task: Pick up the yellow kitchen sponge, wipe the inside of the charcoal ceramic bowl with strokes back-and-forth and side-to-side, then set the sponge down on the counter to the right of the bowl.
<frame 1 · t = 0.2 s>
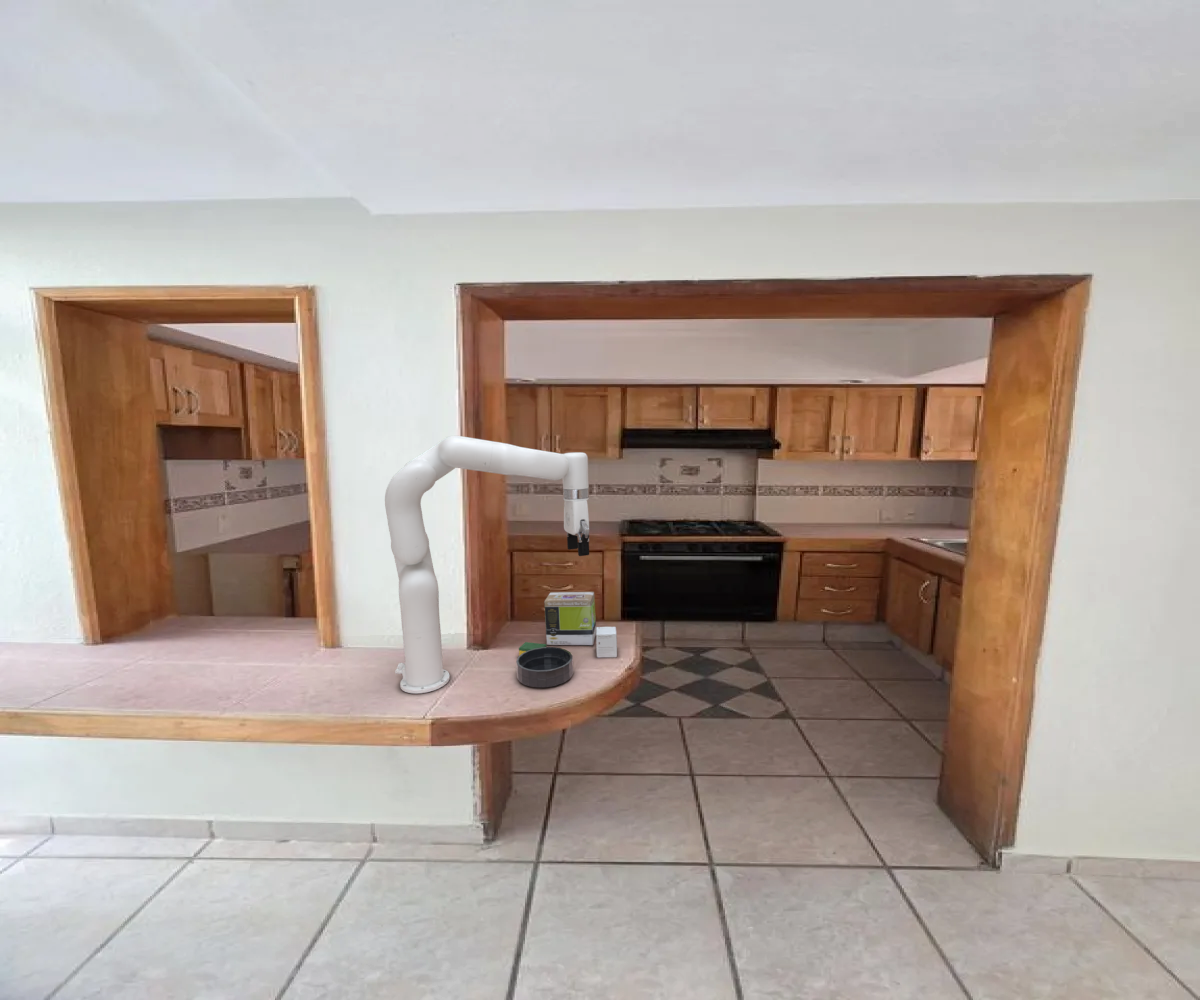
hand: (578, 552, 147), 31 cm above the counter, tool pointing down, fingers open, 9 cm apart
product box: (606, 654, 149), on the counter
bowl: (545, 675, 136), on the counter
tea box: (571, 640, 160), on the counter
sponge: (533, 655, 149), on the counter
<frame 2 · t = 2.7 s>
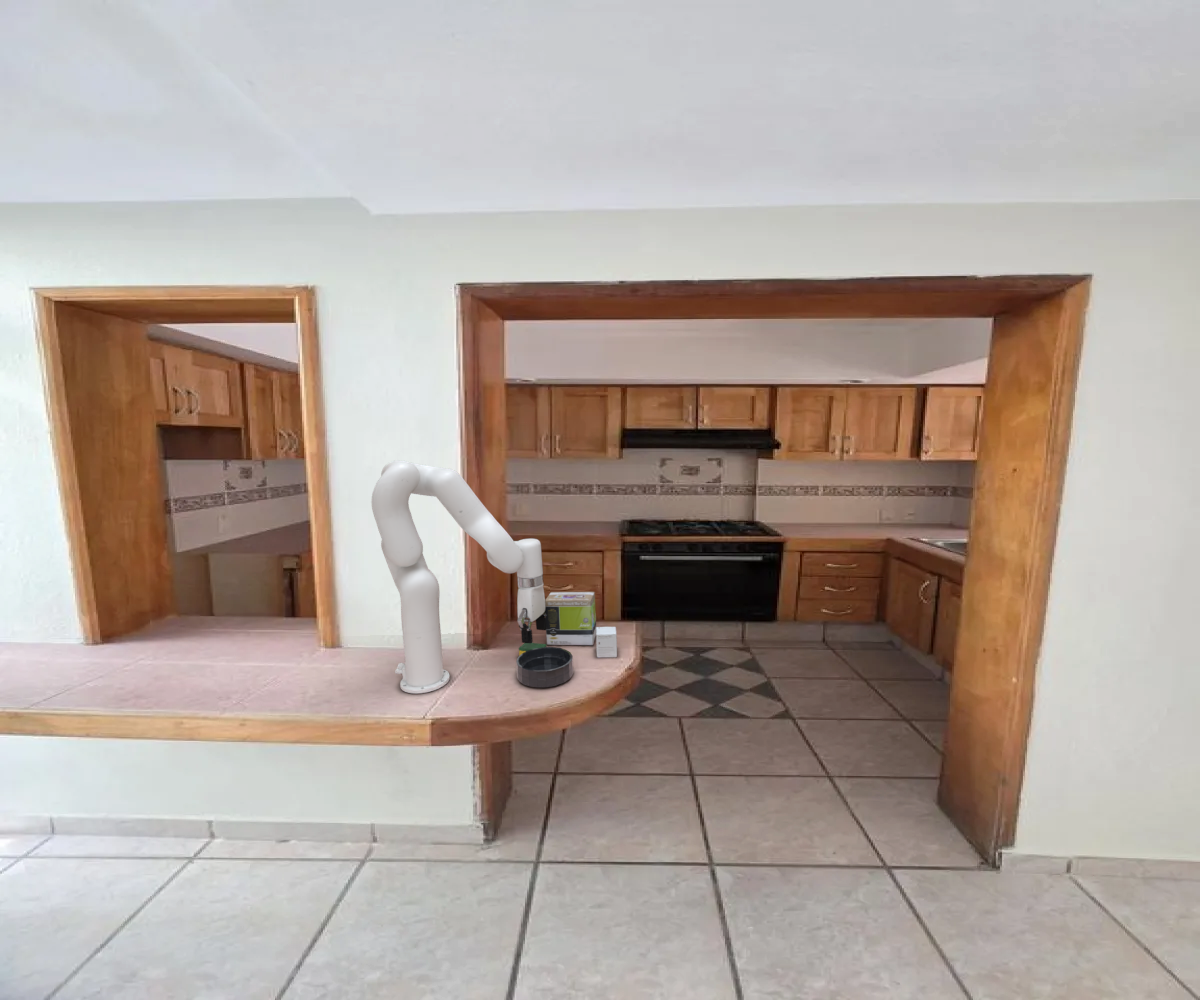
hand: (534, 636, 149), 6 cm above the counter, tool pointing down, fingers open, 9 cm apart
nothing on the counter moved.
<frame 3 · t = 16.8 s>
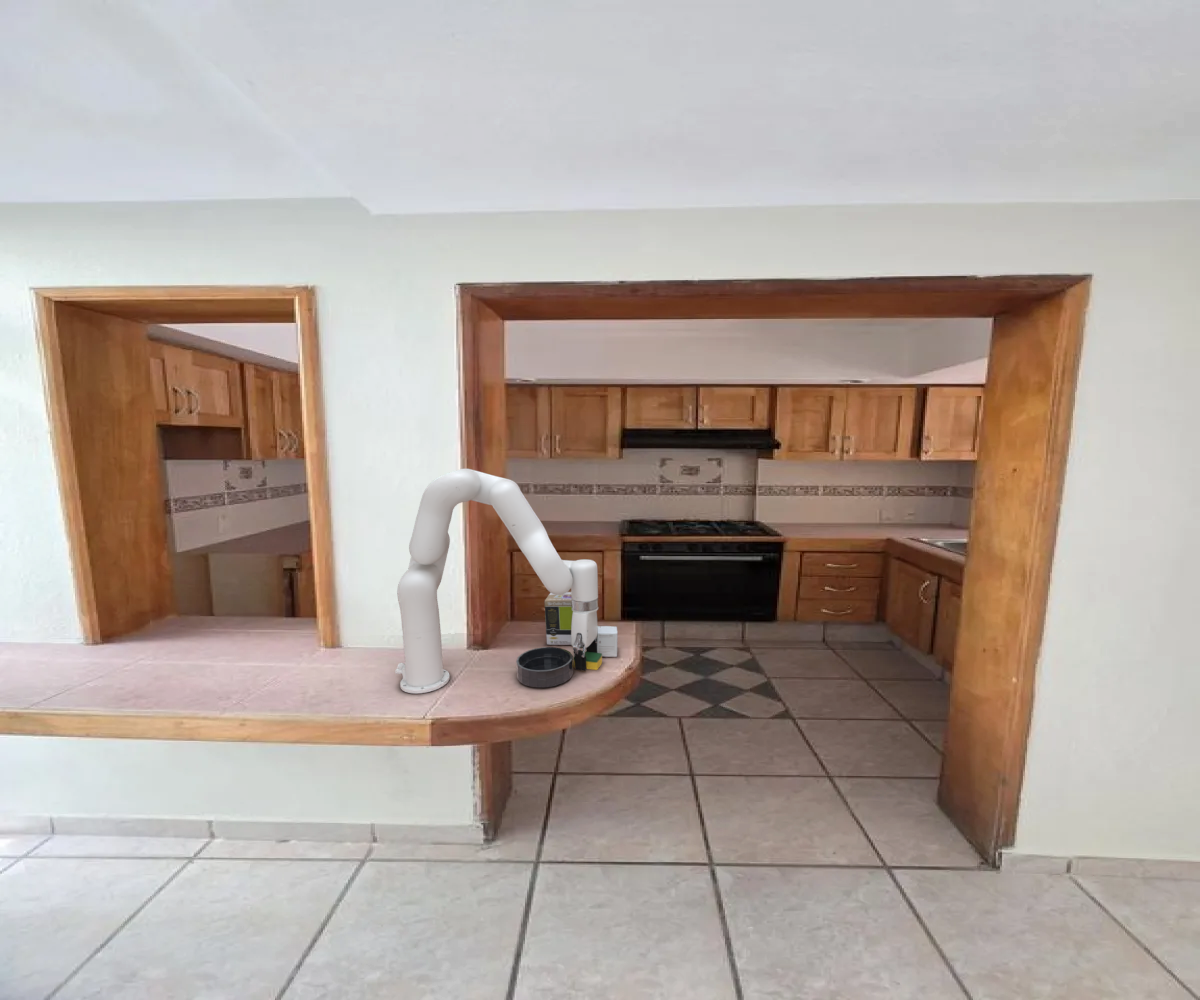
hand: (586, 662, 142), 1 cm above the counter, tool pointing down, fingers open, 8 cm apart
product box: (606, 653, 150), on the counter, touching gripper
sponge: (588, 665, 142), on the counter
everything else where it was.
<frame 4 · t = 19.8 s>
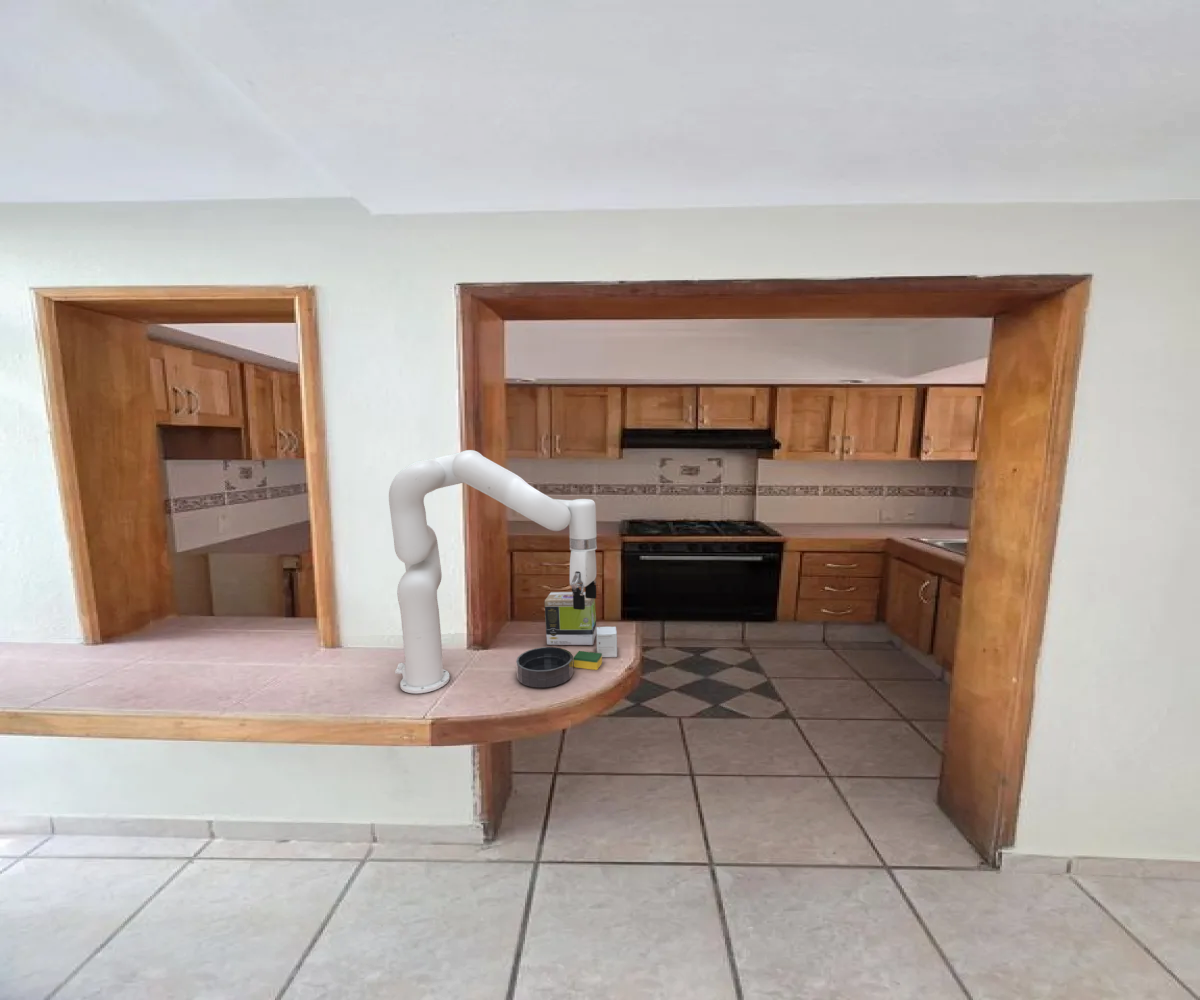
hand: (585, 603, 140), 18 cm above the counter, tool pointing down, fingers open, 9 cm apart
product box: (606, 653, 150), on the counter
everything else where it was.
at the end: sponge inside the target area (0.2 cm from its centre), on the counter; the gripper is holding nothing; sponge moved 18.3 cm from its start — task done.
